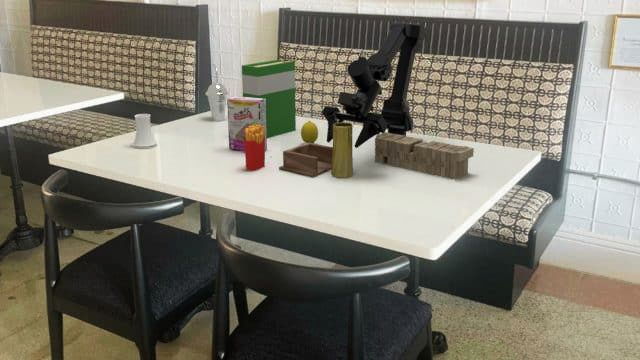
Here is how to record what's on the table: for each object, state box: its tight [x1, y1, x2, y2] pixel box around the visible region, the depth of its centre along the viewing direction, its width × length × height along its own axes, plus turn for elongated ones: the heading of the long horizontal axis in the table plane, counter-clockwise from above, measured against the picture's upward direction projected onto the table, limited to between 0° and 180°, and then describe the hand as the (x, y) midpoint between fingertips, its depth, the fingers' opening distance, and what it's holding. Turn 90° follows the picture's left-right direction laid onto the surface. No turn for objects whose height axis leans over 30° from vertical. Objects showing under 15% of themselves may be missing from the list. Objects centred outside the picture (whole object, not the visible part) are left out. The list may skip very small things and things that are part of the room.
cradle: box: [278, 143, 333, 179], centre depth 185 cm, size 14×12×5 cm
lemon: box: [300, 120, 319, 144], centre depth 208 cm, size 6×6×8 cm
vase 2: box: [330, 121, 354, 179], centre depth 178 cm, size 6×6×14 cm
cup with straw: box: [205, 63, 229, 122], centre depth 240 cm, size 8×9×20 cm
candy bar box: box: [226, 95, 268, 152], centre depth 201 cm, size 11×5×16 cm, turn 71°
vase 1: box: [132, 113, 158, 150], centre depth 207 cm, size 8×8×10 cm
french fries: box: [244, 125, 266, 172], centre depth 185 cm, size 8×4×12 cm, turn 153°
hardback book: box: [241, 59, 297, 139], centre depth 220 cm, size 18×7×24 cm, turn 140°
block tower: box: [374, 131, 475, 180], centre depth 185 cm, size 8×8×29 cm
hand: (341, 144), depth 177 cm, fingers open, 9 cm apart
